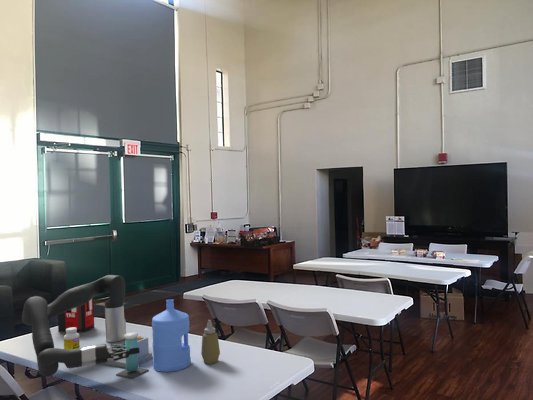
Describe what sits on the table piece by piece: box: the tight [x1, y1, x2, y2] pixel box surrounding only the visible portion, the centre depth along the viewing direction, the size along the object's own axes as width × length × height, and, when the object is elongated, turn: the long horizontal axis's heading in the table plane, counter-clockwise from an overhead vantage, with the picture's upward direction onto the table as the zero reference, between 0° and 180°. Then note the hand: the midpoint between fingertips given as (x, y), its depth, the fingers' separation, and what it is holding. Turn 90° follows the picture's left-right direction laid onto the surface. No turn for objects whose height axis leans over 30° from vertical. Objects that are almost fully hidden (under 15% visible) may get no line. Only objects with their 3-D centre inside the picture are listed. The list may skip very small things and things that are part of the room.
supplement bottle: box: [63, 327, 81, 350], centre depth 202 cm, size 7×7×13 cm
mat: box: [115, 366, 149, 380], centre depth 179 cm, size 9×9×1 cm
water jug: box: [151, 298, 192, 373], centre depth 185 cm, size 16×16×28 cm
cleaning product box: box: [56, 294, 95, 333], centre depth 246 cm, size 16×9×20 cm, turn 81°
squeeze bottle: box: [200, 319, 221, 365], centre depth 188 cm, size 8×8×18 cm
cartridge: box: [123, 331, 139, 371], centre depth 179 cm, size 5×5×14 cm
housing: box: [104, 336, 153, 369], centre depth 194 cm, size 14×19×9 cm
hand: (138, 348), depth 180 cm, fingers closed on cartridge, 4 cm apart
